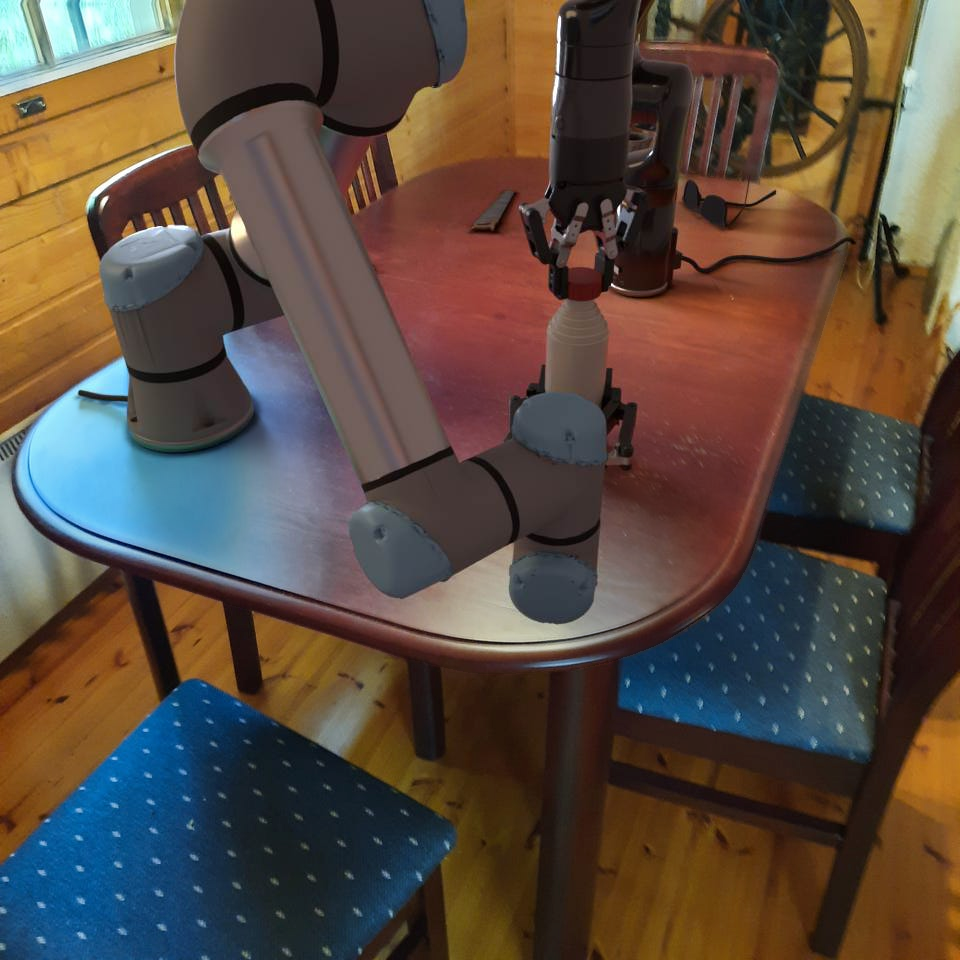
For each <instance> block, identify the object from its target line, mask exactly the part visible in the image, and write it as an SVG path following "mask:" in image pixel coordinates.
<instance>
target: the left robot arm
mask: <svg viewBox="0 0 960 960" xmlns="http://www.w3.org/2000/svg"><path fill="white" fill-rule="evenodd" d="M467 47H468V20H467V13H466V4H465V0H184V4H183V6H182V9H181V12H180V17H179V21H178V25H177V31H176V36H175V46H174V62H173V63H174V64H173V65H174V67H173V68H174V80H175V81H174V83H175V89H176V95H177V101H178V105H179V110H180V114H181V118H182V121H183V125H184V128H185V130H186V133H187V135H188V137H189V140H190V142H191V144H192V146H193V149H194V152H195V153H196V155H197V158H198V159H199V162H200V164H201V165H202V167H203V168H205V169H206V170H208V171H210V172H213V173H215V174H217V175H220V176H221V177H222V179H223V182H224V183H225V186H226V188H227V190H228V192H229V194H230V197H231V199H232V201H233V204H234V206H235V208H236V211H235V213H234V214H233V217H232V219H231V222H230V226H229V227H228V228H225V229H220V230H216V231H212V232H209V233H205V234H200V233H199V232H198V230H197V229H195V228H193V227H191V226H189V225H183V224H169V225H168V226H166V227H164V226H163V225H161V226H156V227H150V228H147V229H144V230H140V231H137V232H135V233H133V234H130V235H129V236H126V237H124V238H122V239H121V240H119V241H117V242H116V243H115V244H113V245H112V246H110V248H109V249H108V250H107V252H105V253H104V255H103V256H102V258H101V260H100V262H99V269H98V270H99V271H98V273H99V278H100V283H101V289H102V292H103V301H104V304H105V305H106V307H107V308H108V310H109V311H108V312H109V314H110V318H111V320H112V324H113V327H114V330H115V333H116V337H117V341H118V344H119V346H120V351H121V353H122V356H123V360H124V363H125V366H126V369H127V370H126V371H127V373H128V389H127V395H122V394H121V395H119V394H103V393H97V392H93V391H89V390H85V389H79V390H78V391H77V395H78V396H79V397H84V398H89V399H93V400H98V401H104V402H123V403H126V424H127V427H128V430H129V433H130V436H131V437H132V439H133V440H134V442H136V443H137V444H138V445H139V446H141V447H143V448H146V449H149V450H151V451H155V452H161V453H187V452H193V451H199V450H204V449H208V448H210V447H213V446H217V445H220V444H222V443H224V442H226V441H228V440H230V439H232V438H233V437H235V436H237V435H238V434H239V433H240V432H242V431H243V430H245V428H246V427H247V426H248V425H249V424H250V422H251V421H252V419H253V417H254V413H255V408H254V403H253V398H252V395H251V393H250V390H249V388H248V386H247V385H246V384H245V383H244V381H243V379H242V378H241V376H240V374H239V373H238V371H237V370H236V368H235V366H234V365H233V363H232V361H231V360H230V358H229V357H228V354H227V349H226V345H225V340H224V336H225V335H227V334H230V333H233V332H236V331H239V330H242V329H243V330H244V329H246V328H249V327H252V326H255V325H258V324H262V323H264V322H265V323H266V322H268V321H271V320H275V319H277V318H281V317H283V316H284V317H285V319H286V322H287V324H288V326H289V328H290V331H291V332H292V335H293V337H294V339H295V341H296V344H297V346H298V348H299V351H300V353H301V356H302V357H303V359H304V361H305V364H306V366H307V368H308V371H309V373H310V375H311V377H312V379H313V381H314V384H315V386H316V388H317V390H318V393H319V395H320V397H321V399H322V400H321V401H322V402H323V404H324V406H325V408H326V411H327V413H328V414H329V417H330V419H331V422H332V424H333V426H334V428H335V431H336V434H337V435H338V438H339V440H340V442H341V444H342V447H343V448H344V452H345V453H346V455H347V457H348V460H349V462H350V464H351V466H352V469H353V472H354V473H355V476H356V477H357V479H358V482H359V484H360V486H361V489H362V491H363V493H364V497H365V500H366V502H365V504H363V505H362V507H361V508H358V509H357V510H355V511H354V512H353V514H352V515H351V517H350V518H349V521H348V534H349V539H350V540H351V542H352V545H353V547H352V551H353V554H354V556H355V558H356V561H357V563H358V564H359V567H360V568H361V570H362V572H363V573H364V575H365V577H366V578H367V579H368V581H369V582H370V583H371V584H372V585H373V586H374V587H375V588H376V589H377V590H378V591H379V592H381V594H383V595H385V596H387V597H390V598H393V599H400V600H403V599H406V598H409V597H411V596H412V595H415V594H417V593H419V592H421V591H423V590H426V589H427V588H429V587H431V586H434V585H436V584H438V583H445V582H447V581H449V580H450V579H451V578H452V577H454V576H455V575H457V574H459V573H461V572H462V571H464V570H466V569H467V568H469V567H472V566H473V565H475V564H477V563H478V562H480V561H482V560H484V559H485V558H487V557H490V556H491V555H493V554H494V553H496V552H498V551H499V550H502V549H503V548H505V547H507V546H509V545H512V544H513V549H512V560H511V564H510V565H509V568H508V575H509V579H508V581H509V582H508V595H509V598H510V601H511V603H512V605H513V606H514V607H515V608H516V610H517V611H518V612H519V613H520V614H522V615H523V616H524V617H526V618H527V619H530V620H531V621H533V622H534V621H535V622H537V623H541V624H549V625H552V624H553V625H565V624H569V623H572V622H575V621H578V620H579V619H580V618H582V617H584V616H585V615H586V614H587V613H588V612H589V610H590V609H591V607H592V606H593V604H594V600H595V595H596V587H597V586H598V578H599V577H598V560H599V549H600V548H599V546H600V535H601V524H602V523H601V514H602V504H603V503H602V502H603V493H604V492H603V491H604V483H605V471H606V470H607V468H608V466H619V469H620V470H622V471H623V472H629V471H631V470H632V467H633V457H634V446H633V444H632V442H633V436H634V432H635V428H636V423H637V412H638V404H637V403H636V402H632V401H630V402H627V403H624V402H622V389H621V387H617V386H616V387H613V367H607V369H606V381H605V392H604V405H603V410H602V411H601V409H600V408H599V407H598V406H597V405H596V404H594V403H593V402H591V401H588V400H587V399H586V398H584V397H582V396H580V395H576V394H572V393H566V392H548V393H544V390H545V364H543V363H542V364H541V368H540V374H539V379H538V382H531V383H530V384H528V387H527V388H526V389H525V397H522V398H521V396H519V395H511V396H510V397H509V421H508V422H509V425H508V426H509V427H508V428H509V429H508V430H509V431H508V433H507V435H506V436H505V438H504V439H503V441H502V443H500V444H497V445H495V446H493V447H491V448H488V449H486V450H484V451H482V452H479V453H478V454H476V455H473V456H471V457H469V458H466V459H464V460H462V461H459V459H458V456H457V454H456V453H455V451H454V449H453V446H452V445H451V442H450V440H449V437H448V435H447V433H446V431H445V429H444V427H443V424H442V422H441V419H440V417H439V415H438V412H437V409H436V407H435V406H434V403H433V401H432V399H431V396H430V394H429V392H428V389H427V387H426V384H425V382H424V380H423V378H422V375H421V373H420V371H419V368H418V366H417V363H416V362H415V359H414V356H413V354H412V352H411V350H410V348H409V347H410V346H409V345H408V343H407V340H406V338H405V336H404V334H403V332H402V329H401V327H400V325H399V323H398V320H397V318H396V315H395V313H394V311H393V308H392V306H391V303H390V301H389V298H388V297H387V293H386V292H385V290H384V287H383V285H382V283H381V280H380V278H379V276H378V274H377V271H376V269H375V266H374V264H373V262H372V260H371V257H370V255H369V252H368V250H367V248H366V246H365V243H364V241H363V239H362V236H361V234H360V232H359V230H358V227H357V225H356V223H355V221H354V217H353V215H352V213H351V211H350V209H349V207H348V205H347V202H346V200H345V198H346V196H347V194H348V192H349V190H350V188H351V186H352V183H353V182H354V180H355V178H356V175H357V173H358V171H359V170H360V167H361V165H362V163H363V161H364V159H365V157H366V155H367V153H368V151H369V149H370V147H371V145H372V142H373V140H374V139H375V138H379V137H381V136H384V135H387V134H388V133H391V132H392V131H393V130H394V129H395V128H397V127H398V125H400V123H401V122H402V121H403V118H404V117H405V115H406V113H407V112H408V110H409V107H410V106H411V104H412V102H413V100H414V98H415V96H416V95H417V93H419V92H420V91H421V90H423V89H425V88H432V89H438V88H441V87H442V86H443V85H444V84H448V83H450V82H452V81H453V80H454V79H455V78H456V77H457V76H458V75H459V74H460V71H461V70H462V67H463V65H464V61H465V58H466V54H467ZM620 421H621V425H620ZM615 426H620V429H619V433H618V440H617V442H615V443H614V446H612V448H611V450H610V451H609V452H608V450H607V448H608V447H607V443H608V436H609V435H610V433H611V432H612V431H613V429H614V428H615Z"/></svg>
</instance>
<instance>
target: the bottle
mask: <svg viewBox="0 0 960 960" xmlns="http://www.w3.org/2000/svg"><path fill="white" fill-rule="evenodd" d="M546 327H547V328H546V333H545V336H546V337H545V390H544V393H548V392H566V393H572V394H576V395H580V396H582V397H584V398H586V399H587V400H588V401H591V402H593V403H594V404H596V405H597V406H598V407H599V408H600V409H601V411H602V410H603V405H604V392H605V381H606V369H607V368H608V358H609V357H608V356H609V345H610V333H611V331H610V329H609V323H608V321H607V320H606V319H605V316H604V314H603V313H602V311H601V309H600V308H599V306H598V303H597V302H596V301H595V299H593V300H590V301H574V300H569V299H565V300H563V301H562V303H561V306H559V307H558V308H557V310H556V312H555V313H554V314H553V316H552V317H551V318H550V319H549V321H548V326H546Z"/></svg>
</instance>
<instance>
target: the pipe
mask: <svg viewBox="0 0 960 960" xmlns="http://www.w3.org/2000/svg"><path fill="white" fill-rule="evenodd" d="M652 141H654V136H653V135H651V134H650V133H645V132H633V131H630V135H629V146H628V153H630V152H633V151H637V150H642V149H646V148H649V147H651V146H650V145H651V143H652Z"/></svg>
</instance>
